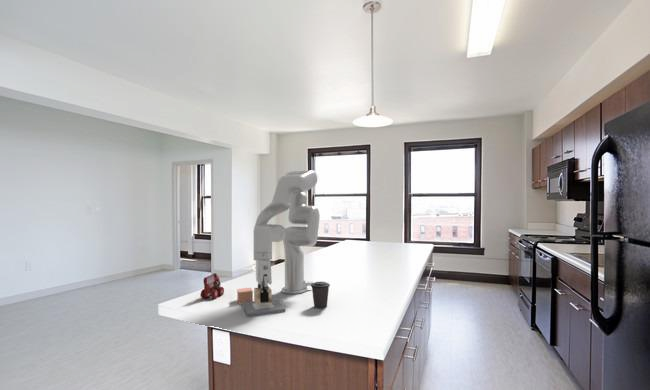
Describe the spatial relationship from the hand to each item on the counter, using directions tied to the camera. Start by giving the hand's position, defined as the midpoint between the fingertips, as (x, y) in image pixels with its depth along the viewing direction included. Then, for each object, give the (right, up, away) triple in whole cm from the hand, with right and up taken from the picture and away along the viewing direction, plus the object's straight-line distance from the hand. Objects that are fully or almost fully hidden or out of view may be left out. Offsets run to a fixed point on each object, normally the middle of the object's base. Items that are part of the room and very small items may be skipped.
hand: (262, 299), depth 130 cm
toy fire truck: (-27, -5, +18) cm, 33 cm away
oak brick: (0, -1, 0) cm, 1 cm away
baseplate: (0, -4, 0) cm, 4 cm away
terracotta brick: (-10, -4, +10) cm, 15 cm away
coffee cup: (+24, -4, +2) cm, 24 cm away
